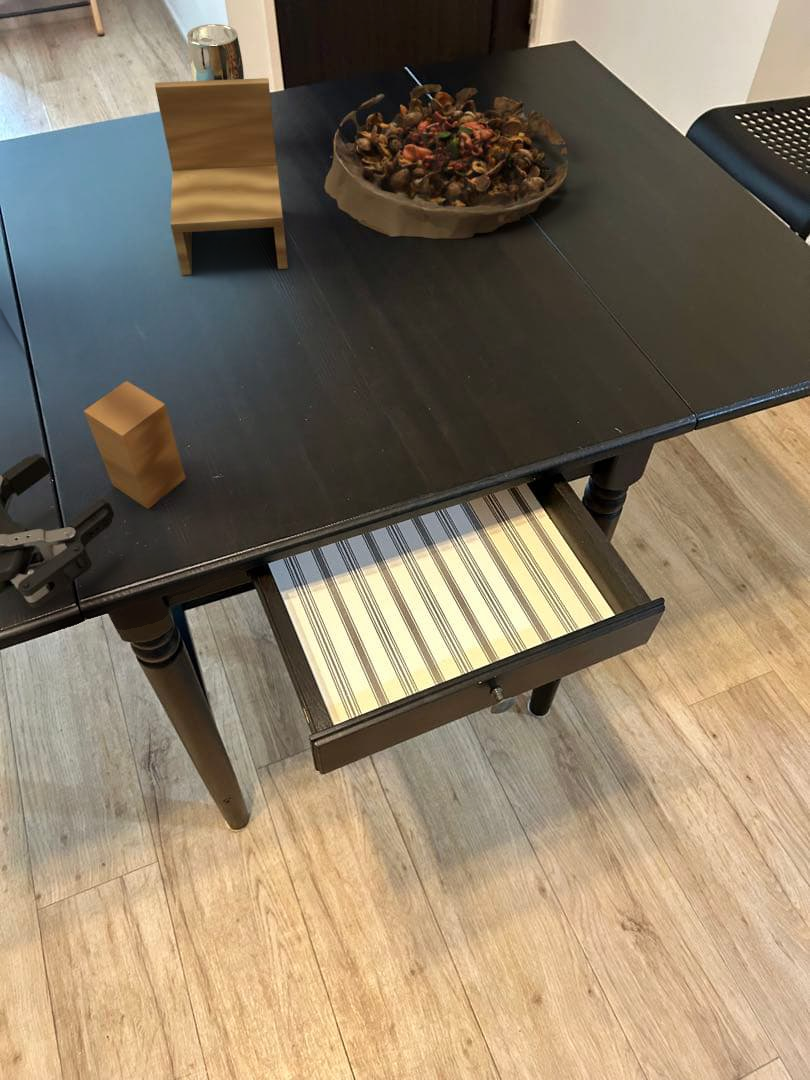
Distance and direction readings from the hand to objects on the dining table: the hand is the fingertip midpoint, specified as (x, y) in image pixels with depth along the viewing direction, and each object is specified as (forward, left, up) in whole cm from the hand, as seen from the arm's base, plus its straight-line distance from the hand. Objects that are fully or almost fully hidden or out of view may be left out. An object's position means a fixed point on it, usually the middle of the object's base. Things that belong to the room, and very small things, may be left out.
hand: (76, 483), depth 73 cm
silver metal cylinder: (+47, +53, -6) cm, 71 cm away
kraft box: (+7, +2, -6) cm, 9 cm away
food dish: (+68, +29, -6) cm, 74 cm away
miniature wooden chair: (+35, +32, -6) cm, 47 cm away
